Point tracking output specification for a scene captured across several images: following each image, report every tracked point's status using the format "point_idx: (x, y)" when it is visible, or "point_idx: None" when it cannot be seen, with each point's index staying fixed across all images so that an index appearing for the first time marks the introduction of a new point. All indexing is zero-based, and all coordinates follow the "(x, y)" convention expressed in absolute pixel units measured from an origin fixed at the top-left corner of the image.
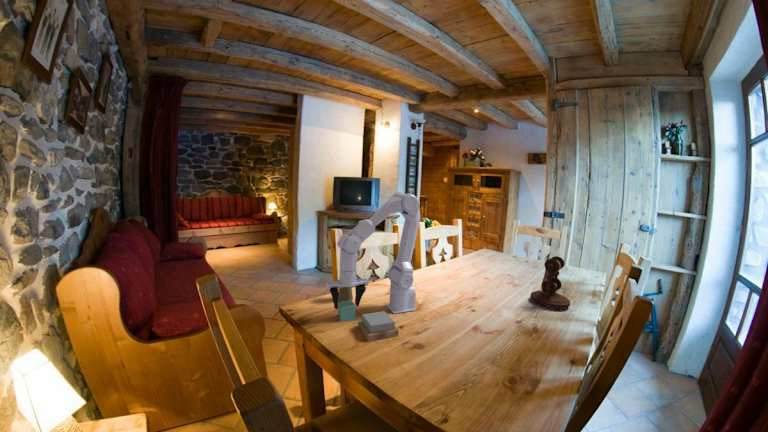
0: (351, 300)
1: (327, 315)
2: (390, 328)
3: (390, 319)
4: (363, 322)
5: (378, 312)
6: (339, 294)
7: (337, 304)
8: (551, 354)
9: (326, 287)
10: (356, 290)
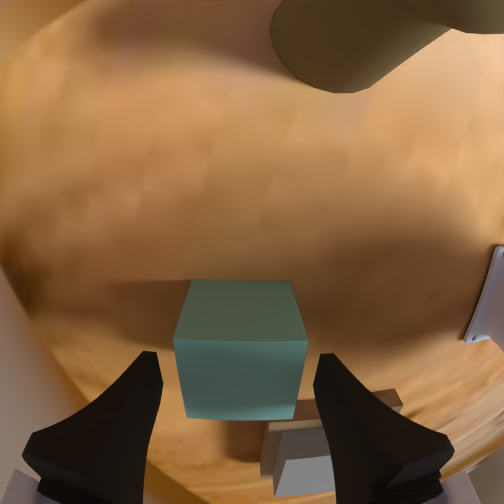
0: (307, 342)
1: (127, 261)
2: None
3: None
4: (280, 443)
5: None
6: (286, 18)
7: (153, 417)
8: (484, 455)
9: (20, 482)
10: (358, 454)
